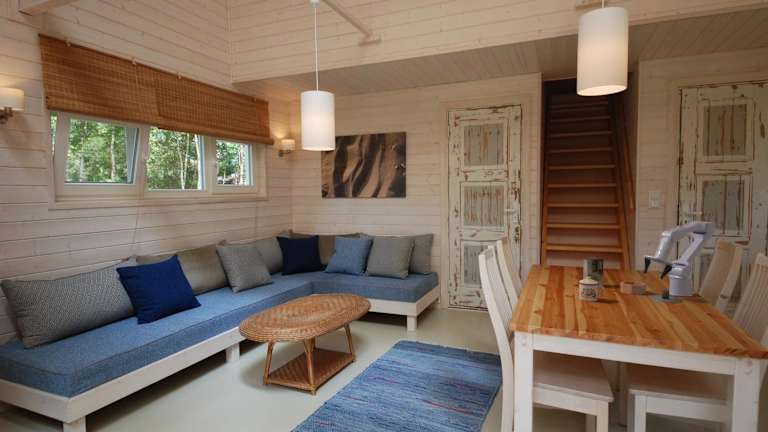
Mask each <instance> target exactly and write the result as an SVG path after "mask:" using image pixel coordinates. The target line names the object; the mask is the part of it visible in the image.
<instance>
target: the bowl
mask: <svg viewBox="0 0 768 432" xmlns="http://www.w3.org/2000/svg"><path fill="white" fill-rule="evenodd" d="M619 290H620V292H621V293H623V294H627V295H631V296H634V295H635V296H643V295H646V294H647V293H646V292H647V284H646V283H644V282H641V281H635V280H623V281H620V289H619Z"/></svg>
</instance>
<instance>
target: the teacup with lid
mask: <svg viewBox="0 0 768 432" xmlns="http://www.w3.org/2000/svg"><path fill="white" fill-rule="evenodd" d="M598 284H599V283H598V282H597V281H594V280H593V279H591V277H587V278H586V279H583V278H582V279H581V280H579V281H578V285H579V287H578V298H579V300H581V301H585V302H597V301H598V300H599V297H601V296H604V294H605V292H606V289H605V287H604V286H603V287H602V286H598ZM600 288H601V289H603V291H602V292H601V293H599V289H600Z"/></svg>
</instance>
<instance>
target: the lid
mask: <svg viewBox="0 0 768 432" xmlns="http://www.w3.org/2000/svg"><path fill="white" fill-rule="evenodd" d="M650 300H653V301H655V302H660V303H669V304H675V303H676V304H678V303H679V304H680V303H681V302H682V300H681V299H680V298H678V297H676V296H671V295H670V294H669V290H667V289H662V290H661V295H657V294H656V295H651V296H650Z"/></svg>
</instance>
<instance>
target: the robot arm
mask: <svg viewBox="0 0 768 432" xmlns="http://www.w3.org/2000/svg"><path fill="white" fill-rule="evenodd" d="M689 233H690V234H691V237H692V238H693V241H692V242H691V244H690V245H689V246H688V247H687V249H686V250H685V251H684V253H683V254H682V255H681V257H679V258H678V259H675V260H673V261H672V262H670V261H669V260H668V259H669V257H670V255H671V252H672V249H673V247H674V244H676V243H678V242H679V240H681V239H682V238H684V237H686V236H687V235H688V234H689ZM714 234H716V224H715V222H713V221H697V220H693V221H691V222H690V223H688V224H687V225H685V226H682V225H677V226H676V227H675V228H671V229H670V230H664V231H662V232H661V233H660V237H659V238H660V239H659V245H658V246H657V249H656V251H655V254H654V256H652V255H647V254H644V255H643V257H642V259H643V260H644V269H643V270H644V271H643V274H644V275H646V274H647V272H648V269H649V267H650V265H651V263H652V262H653V263H656V264H659V265H663V266H664V269H663V272H662V274H661V276H660V280H664V278H665V277H666V275H667V276H668V278H669V290H668V291H669V296H671V297H693V281H692V278H690V276H691V275H692V271H693V269H694V268H693V265H691V264H692V263H693V262H694V261H695V259H696V258H697V257H698V256H699V254H700V253H701V252H702V251H703V248H705V246H706V245H707V244H708V241H709V240H711V238H712V237H713V236H714Z"/></svg>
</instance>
